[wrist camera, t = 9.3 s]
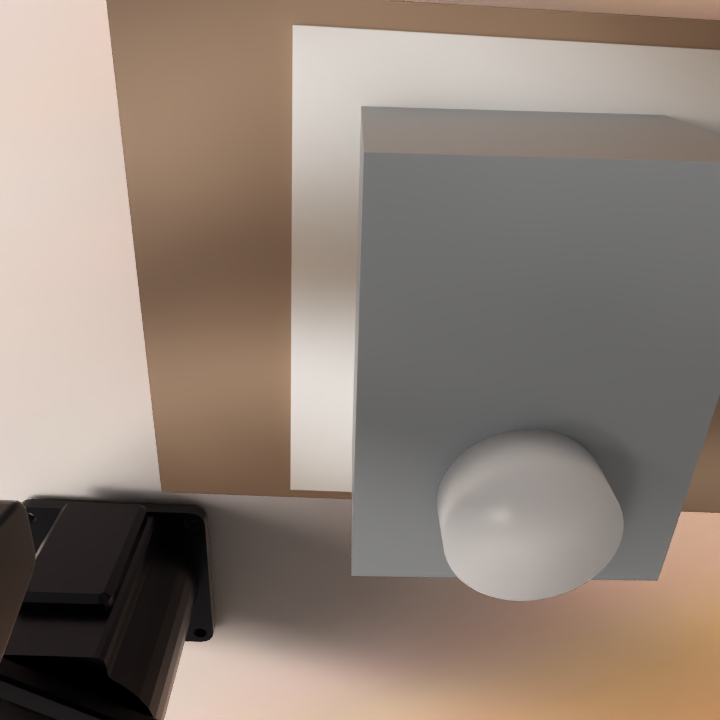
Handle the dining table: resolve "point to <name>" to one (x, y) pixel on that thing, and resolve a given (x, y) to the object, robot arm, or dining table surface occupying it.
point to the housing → (530, 343)
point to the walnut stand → (325, 196)
